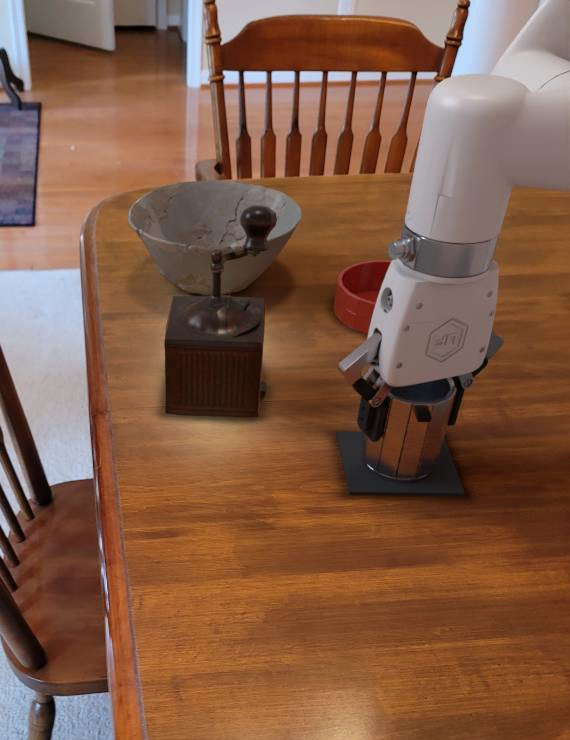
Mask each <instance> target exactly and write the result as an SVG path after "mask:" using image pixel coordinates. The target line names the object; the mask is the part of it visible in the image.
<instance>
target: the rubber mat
mask: <svg viewBox="0 0 570 740" xmlns="http://www.w3.org/2000/svg"><path fill="white" fill-rule="evenodd" d="M364 434H365V433H364V432H363V431H356V430H355V431H348V430H347V431H346V430H345V431H344V430H343V431H342V430H337V431H336V434H335V435H336V440H337V445H338V450H339V455H340V459H341V464H342V469H343V474H344V479H345V485H346V488H347V493H348V495H349V496H396V497H397V496H402V497H404V496H405V497H465V495H466V492H465V488H464V487H463V483H462V481H461V479H460V476H459V473H458V471H457V470H458V469H457V468H456V465H455V462H454V460H453V457H452V454H451V451H450V448H449V446H448V444H447V440H446V437H444V439H443V443H442V447H441V450H440V454H439V458H438V461H437V464H436V466H435V469H434V471H433V473H432V474H431V475H430V476H429V477H427V478H425V479H423V480H421V481H417V482H411V483H399V482H392V481H388V480H385V479H382V478H380V477H378V476H376V475H374V474H373V473H371V472H370V471H369V470H368V469H367V468H366V467H365V466H364V464H363V462H362V457H361V456H362V451H361V450H362V445H363V439H364Z"/></svg>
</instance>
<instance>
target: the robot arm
mask: <svg viewBox="0 0 570 740" xmlns="http://www.w3.org/2000/svg"><path fill="white" fill-rule="evenodd" d="M413 168H414V169H413V174H412V180H411V185H410V188H409V189H410V190H409V193H408V194H409V195H408V200H407V204H406V212H405V217H404V222H403V226H402V227H401V233H400V238H398V239H397V240H394V241H391V242H389V244H388V246H387V254H388V258H389V259H391V263H390V266H389V268H388V270H387V273H386V275H385V278H384V280H383V283H382V286H381V289H380V292H379V295H378V298H377V301H376V305H375V308H374V311H373V315H372V319H371V323H370V328H369V332H368V334H367V336H366V337H367V338H366V340H365V341H364V342H362V344H360V345H359V346H358V347H356V349H354V350H353V351H352V352H350V354H348V355H347V356H345V357H344V358H343V359H342V360H341V361H340V362H339V363H338V365H337V370H338V371H339V372H340V374H341V375H342V376H343V378H344V379H345V380H346V382H347V383H348V384H349V386H350V387H351V388H352V389H353V390H354V391H355V392H356V393H357V394H358V395H359V396H360V402H359V408H358V413H357V419H356V424H357V426H358V428H359V429H360V431H361V432H364V433H365V434H366V435H367V437H368V438H369V439H370V440H371V441H372V442H376V441H379V439H380V438H381V434H382V429H383V424H384V419H385V414H386V409H387V408H386V405H385V404H384V403H383V401H384V399H385V398H386V397H387V395H388V394H389V392H390V391H391V390H392V388H393V387H402V386H409V385H414V384H419V383H425V382H430V381H435V380H440V379H445V378H450V377H452V379H453V381H454V383H455V386H456V388H457V390H456V394H455V398H454V402H453V405H452V409H451V413H450V417H449V420H448V424H447V427H451V426H455V424H456V422H457V418H458V416H459V412H460V410H461V404H462V402H463V398H464V394H465V390H467V389H470V388H471V387H472V386H473V385H474V382H475V380H474V378H475V377H477V376H478V375H479V374H480V373H481V371H483V370H484V369H485V368H486V367H487V366H488V365H489V359H492V358H493V356H495V354H496V353H497V352H498V351H499V350H500V349H501V348H502V347H503V345H504V343H505V340H504V339H503V338H502V337H501V336H500V335H499V334H497V332H495V331H494V330H493V328H494V327H493V326H494V321H495V317H496V312H497V311H496V310H497V303H498V295H499V281H500V280H499V278H500V277H499V275H500V273H499V272H500V270H499V269H500V267H499V263H498V262H497V261H496V260H494V257H495V252H496V248H497V245H498V242H499V238H500V235H501V234H500V233H501V231H502V227H503V224H504V219H505V215H506V212H507V208H508V204H509V202H510V197H511V194H512V190H514V189H515V188H527V189H539V190H547V191H558V192H570V0H543V1H542V2H541V3H540V5H539V6H538V7H537V8H536V10H535V11H534V12H533V13H532V15H531V16H530V18H529V19H528V20H527V21H526V23H525V24H524V25H523V26H522V28H521V30H520V31H519V32H518V33H517V34H516V36H515V37H514V38H513V40H512V41H511V42H510V44H509V45H508V46H507V48H506V49H505V50H504V52H503V53H502V55H500V57H499V59H498V61H497V62H496V63H495V65H494V67H493V69H492V70H491V72H490V74H487V73H466V74H465V73H464V74H458V75H454V76H450V77H447V78H444V79H443V80H442V81H440V82H438V83H437V84H436V85H435V86H434V87H433V88H432V91H431V92H430V93H429V97H428V99H427V102H426V106H425V110H424V116H423V120H422V126H421V131H420V137H419V142H418V147H417V153H416V158H415V164H414V167H413ZM367 365H370V367H369V368H368V369H367V371H366V372H365V374H364V375H362V370H363V369H364V368H365V367H366V366H367ZM380 376H381V378H382V380H381V382H380V383H379V384H378V386H377V387H376V389H374V388H373V386H374V384H375V383H376V381H377V380H378V379H379V377H380Z"/></svg>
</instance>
